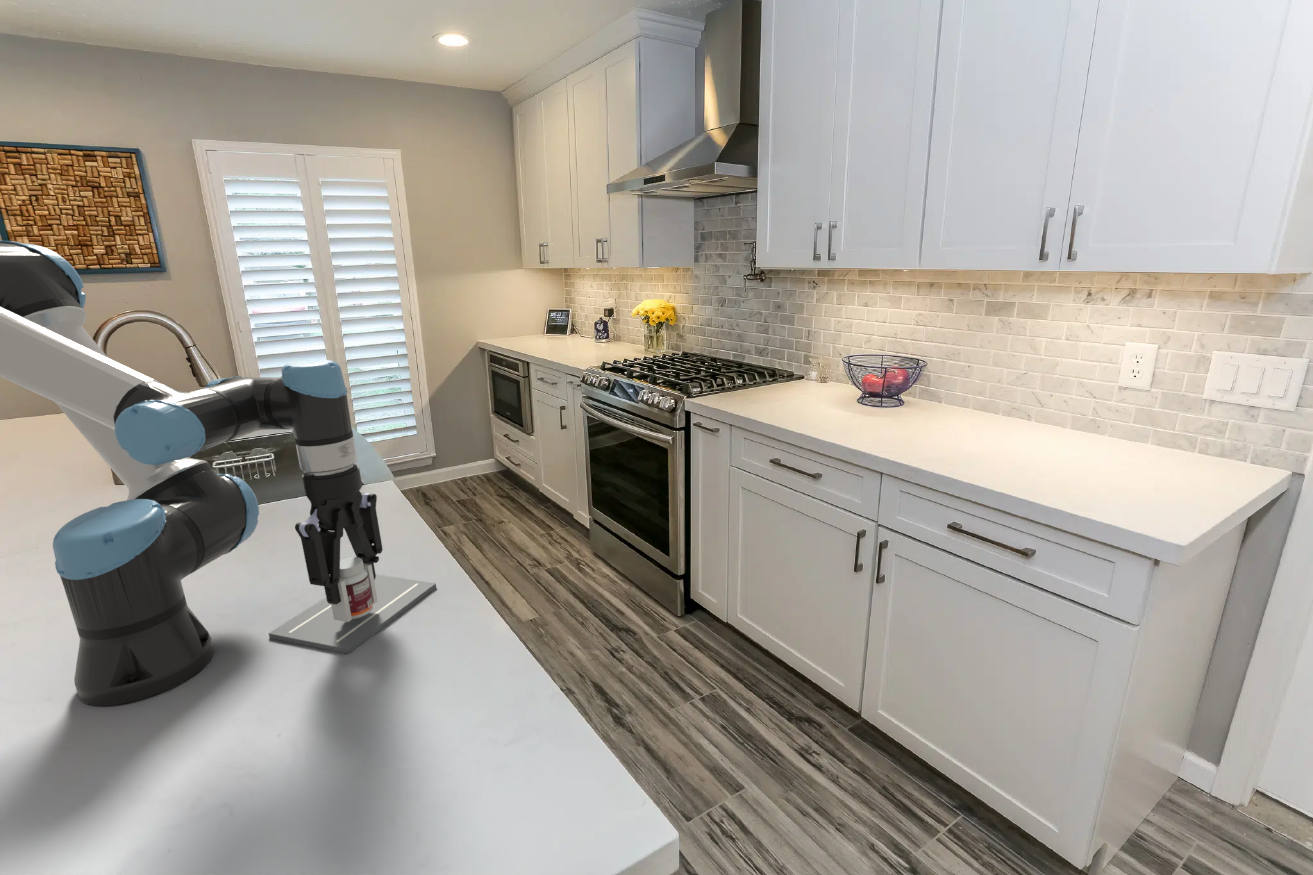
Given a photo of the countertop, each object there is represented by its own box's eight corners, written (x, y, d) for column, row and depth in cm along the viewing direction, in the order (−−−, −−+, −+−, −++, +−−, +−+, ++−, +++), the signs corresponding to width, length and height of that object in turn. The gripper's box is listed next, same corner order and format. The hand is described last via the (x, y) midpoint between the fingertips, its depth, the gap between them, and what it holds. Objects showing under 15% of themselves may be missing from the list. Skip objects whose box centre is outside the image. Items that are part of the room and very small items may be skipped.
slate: (348, 653, 92) (347, 648, 91) (269, 637, 96) (268, 633, 96) (436, 587, 110) (435, 583, 110) (366, 576, 115) (365, 572, 114)
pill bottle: (333, 616, 98) (323, 566, 96) (359, 601, 102) (351, 553, 100) (353, 623, 96) (344, 572, 94) (380, 607, 100) (371, 559, 98)
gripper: (299, 490, 83) (330, 646, 90) (393, 451, 100) (414, 585, 106) (256, 486, 86) (289, 638, 92) (355, 448, 102) (377, 580, 108)
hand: (356, 609), depth 99 cm, fingers closed on pill bottle, 5 cm apart
